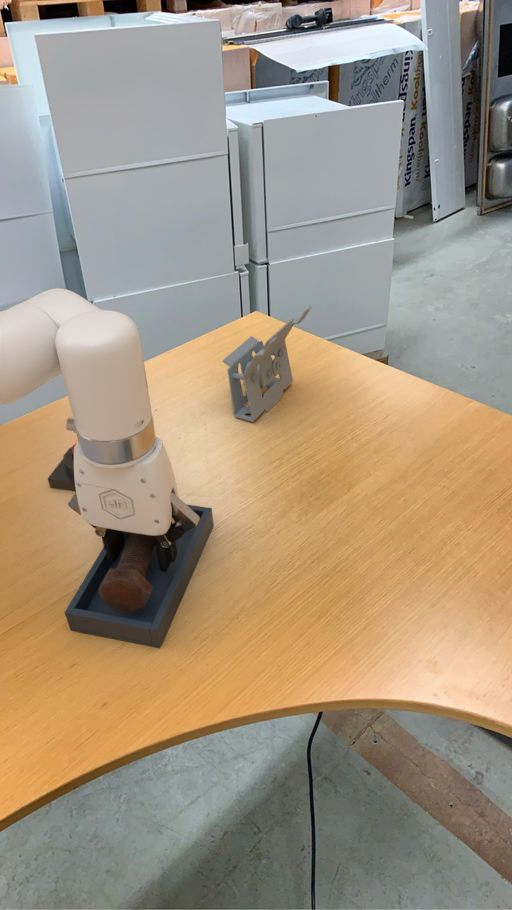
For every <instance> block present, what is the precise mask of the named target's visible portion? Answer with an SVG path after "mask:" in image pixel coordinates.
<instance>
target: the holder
mask: <svg viewBox="0 0 512 910" xmlns="http://www.w3.org/2000/svg"><path fill="white" fill-rule="evenodd" d="M185 504H186V505H187V506H188V507H189V508H191V509H192V510H193V511H194V512H195V513H196V514H197V515H198V516H199V517H200V520H199V522H198V524H197V526H196V528H194V529H192V530H191V531H189V532H187V533H184V534H183V536H182V537H180V538H179V539H177V540H176V547H177V556H176V559H175V561H174V562H171V563H170V565H169V567H168V569H167V571H166V572H163V571H161V570H160V568H159V563H158V557H157V552H156V547H157V545H156V546H154V548H153V552H152V555H151V558H150V562H149V565H148V568H147V572H146V574H145V576H146V577H145V579H146V580H147V581H148V582H149V583H150V584H151V585H152V586H153V589H152V592H151V595H150V597H149V599H148V601H147V602H146V604H145V605H144V607H143V608H142V609H141V610H137V611H131V612H125V611H120V610H118V609H115V608H113V607H110V606H109V605H107V604H106V603H105V602H104V601H103V600H102V598H101V597H100V595H99V593H98V590H99V587H100V584H101V583H102V581H103V579H104V577H105V576H106V574H107V572H108V571H109V569H116V568H117V567H118V564H119V561H120V559H121V556H122V554H123V550H124V548H123V550H122V551H121V553H120V555H119V557H118V558H117V560H116V562H109V560H108V556H107V552H106V550H105V549H104V546H103V547H102V549H101V551H100V552H99V554H98V555H97V558H96V559H95V561H94V562H93V564H92V566H91V567H90V569H89V570H88V572H87V574H86V576H85V577H84V578H83V581H82V583H81V584H80V586H79V588H78V589H77V591H76V592H75V594H74V595H73V597H72V599H71V601H70V602H69V604H68V606H67V607H66V609H65V611H64V615H65V616H64V617H65V618H66V619H65V620H66V622H67V625H68V627H69V631H72V632H77V633H81V634H86V635H87V634H88V635H91V636H98V637H102V638H107V639H113V640H117V641H122V642H127V643H132V644H135V645H136V644H137V645H143V646H145V647H146V646H147V647H150V648H151V647H152V648H157V649H161V647H162V646H163V643H164V641H165V638H166V636H167V634H168V632H169V629H170V627H171V625H172V622H173V620H174V618H175V616H176V613H177V611H178V609H179V606H180V604H181V602H182V600H183V598H184V595H185V593H186V591H187V588H188V585H189V583H190V581H191V578H192V576H193V574H194V572H195V570H196V568H197V565H198V563H199V560H200V558H201V555H202V554H203V552H204V549H205V547H206V544H207V542H208V539H209V537H210V535H211V533H212V531H213V528H214V517H213V516H214V515H213V510H212V507H207V506H200V505H194V504H193V505H192V504H188V503H185ZM172 518H173V520H174V521H175V522H176V521H178V520H179V519H178V518H177V517H176V516H175V515H173V514H172ZM122 532H123V537H124V542H125V544H126V541H127V538H128V537H127V536H126V534H125V532H124V531H122ZM124 547H125V546H124Z"/></svg>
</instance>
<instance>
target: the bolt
mask: <svg viewBox="0 0 512 910" xmlns="http://www.w3.org/2000/svg"><path fill="white" fill-rule="evenodd" d="M124 532H125V534H126V536H127V537H128V538H127V541H126V544H125V547H124V550H123V554H122V556H121V559H120V561H119V564H118V567H117V568H116V569H109V571H108V572H107V574H106V576H105V577H104V579H103V581H102V583H101V584H100V587H99V590H98V593H99V595H100V597H101V598H102V600H103V601H104V602H105V603H106V604H107V605H109V606H110V607H113V608H115V609H118V610H120V611H125V612H131V611H137V610H141V609H142V608H143V607H144V605H145V604H146V602H147V601H148V599H149V597H150V595H151V592H152V589H153V586H152V585H151V584H150V583H149V582H148V581H147V580H146V579H145V577H146V576H145V574H146V572H147V568H148V565H149V562H150V558H151V555H152V552H153V548H154V546H156V545H158V543H159V542H158V540H157V539H156V537H155V536H153V535H145V534H138V533H132V532H126V531H124Z"/></svg>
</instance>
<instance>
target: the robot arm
mask: <svg viewBox="0 0 512 910" xmlns="http://www.w3.org/2000/svg"><path fill="white" fill-rule="evenodd" d="M59 375H61V376H62V379H63V382H64V387H65V391H66V395H67V399H68V402H69V403H68V404H69V407H70V411H71V414H72V417H68V418H67V419H66V422H65V428H66V430H67V431H70V432H73V433H75V435H76V436H77V442H76V443H77V444H76V443H75V444H76V445H75V444H74V445H75V447H74V479H75V487H76V491H75V493H74V494H73V495H72V497H71V498H70V500H69V501H68V503H67V506H68V507H69V508H70V509H71V510H73V511H74V512H75V513H77V515H79V516H81V518H82V519H83V520H84V522H85V523H87V524H89V525H90V526H91V527H92V528H94V529H95V531H94V533H95V535H96V536H97V537H99V538H101V540H102V545H103V547H104V549H105V550H106V552H107V556H108V560H109V562H116V560H117V558H118V557H119V555H120V553H121V551H122V550H123V548H124V546H125V542H124V537H123V532H122V531H126V532H132V533H138V534H145V535H153V536H155V537H156V539H157V540H158V542H159V543H158V545H157V547H156V552H157V557H158V563H159V568H160V570H161V571H163V572H166V571H167V569H168V567H169V565H170V563H171V562H174V561H175V559H176V556H177V547H176V540H177V539H179V538H180V537H182V536H183V534H184V533H187V532H189V531H191V530H192V529H194V528H196V526H197V524H198V522H199V520H200V517H199V516H198V515H197V514H196V513H195V512H194V511H193V510H192V509H191V508H189V507H188V506H187V505H188V504H187V503H186V502H185V501H183V500H182V499H181V498H180V497H179V491H178V485H177V481H176V476H175V473H174V469H173V465H172V462H171V459H170V456H169V454H168V451H167V448H166V447H165V445H164V442H163V440H162V439H161V438H160V437H158V436H157V435H156V430H155V429H156V428H155V424H154V423H155V422H154V415H153V410H152V404H151V397H150V391H149V385H148V379H147V374H146V366H145V359H144V353H143V348H142V341H141V335H140V331H139V328H138V327H137V325H136V323H135V322H134V320H133V319H132V318H130V316H128V315H126V314H124V313H122V312H119V311H115V310H111V309H110V310H109V309H102V308H100V307H98V306H96V305H95V304H93V303H92V302H90V301H89V300H87V299H86V298H85V297H83V296H81V295H79V294H78V293H76V292H74V291H72V290H69V289H66V288H59V287H57V288H56V287H55V288H51V289H47V290H45V291H42V292H40V293H38V294H36V295H34V296H32V297H30V298H28V299H26V300H24V301H22V302H21V303H17V304H15V305H13V306H11V307H8V308H7V309H5V310H3V311H1V312H0V405H8V404H12V403H14V402H17V401H20V399H22V398H24V397H26V396H28V395H29V394H31V393H32V392H34V391H36V390H37V389H39V388H40V387H42V386H44V385H45V384H46V383H48V382H50V381H51V380H53V379H55V378H56V377H58V376H59ZM186 504H187V505H186ZM172 514H173V515H175V516H176V517H177V518H178V519H179V520H178V521H176V522H175V521H174V520H173V518H172Z"/></svg>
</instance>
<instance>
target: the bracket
mask: <svg viewBox="0 0 512 910" xmlns="http://www.w3.org/2000/svg"><path fill="white" fill-rule="evenodd" d="M312 307H313V306H311V305H310V306H308V307H307V308H305V310H304V312H303V313H302V315H301V317H298V318H294V317H292V318H291V319H289V320H288V321H287V322H286V323H285V324H284V325H282V327H281V328H279V329H278V330H277V331H276V332H275V333H274V334H273V335H272V336H270V337H269V338H268V339H267V340H266V341H265V343H264V342H263V340H258V339H257V338H256V337H254V336H253V335H251V336H249V337H248V338H247V339H246V340H245V341H243V342H242V343H241V344H240V345H238V347H236V348H235V349H234V350H233V351H232V352H230V353H229V354H228V355H227V356H226V357H225V358H223V359H222V363H223V364H225V365H226V366H228V367H229V368H227V377H228V384H229V391H230V399H231V405H232V406H231V407H232V413H233V416H234V417H235V418H238V419H241V420H245V421H248V422H251V423H254V422H255V421H256V420H257V419H258V418H259V417H260V416H261V415H262V414H263V413H264V411H265V413H268V412H269V411H271V409H272V408H274V406H275V405H276V404H277V403H278V402H279V401H280V400H281V398H283V397H284V391H285V390H287V388H288V387H289V386H290V385H292V383H293V382H294V378H293V374H292V369H291V364H290V359H289V355H288V354H289V353H288V348H287V344H286V339H287V337H288V335H289V334H290V332H291V331H292V329H293V327H294V326H295V325H299V324H301V322H302V321H303V320H305V318H306V317H307V315H308V313H309V312H310V311H311V308H312ZM253 353H254V356H253ZM272 356H273V357H274V358H273V357H272ZM239 365H240V372H241V373H240V372H239ZM277 376H279V377H277ZM242 381H243V386H244V389H245V391H244V393H243V387H242ZM265 387H266V388H267V389H266V390H265V391H264V392H263V394H262V389H263V388H265ZM262 395H263V396H262ZM246 404H248V405H249V406H247V405H246Z"/></svg>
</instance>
